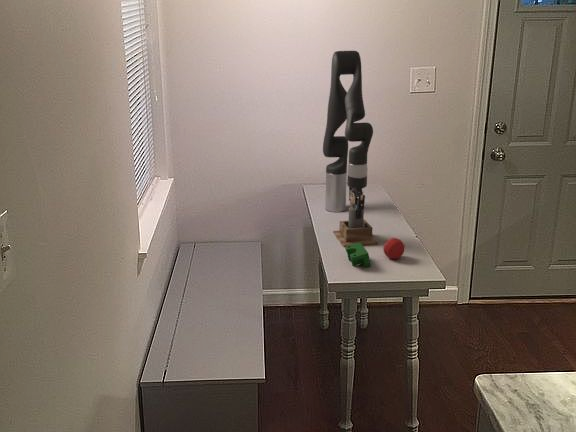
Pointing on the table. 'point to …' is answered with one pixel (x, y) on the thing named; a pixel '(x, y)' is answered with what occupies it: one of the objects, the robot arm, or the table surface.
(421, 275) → the table surface
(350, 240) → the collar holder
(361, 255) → the clamp
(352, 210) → the bottle
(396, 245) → the tomato
